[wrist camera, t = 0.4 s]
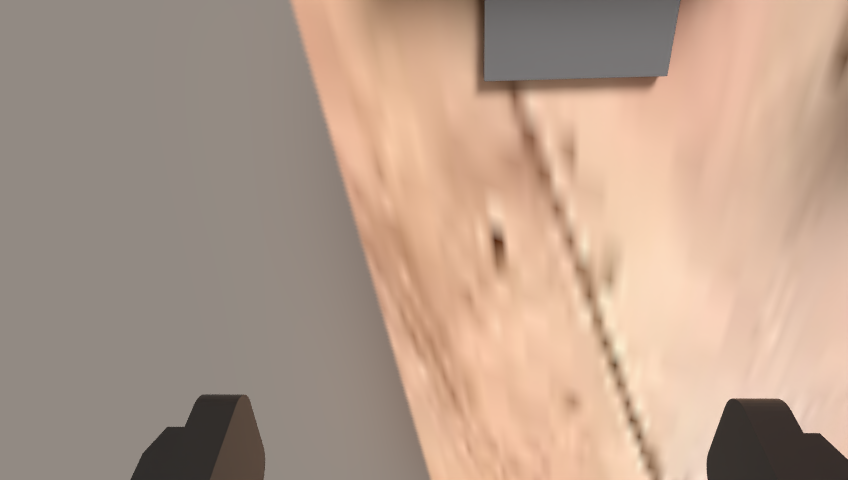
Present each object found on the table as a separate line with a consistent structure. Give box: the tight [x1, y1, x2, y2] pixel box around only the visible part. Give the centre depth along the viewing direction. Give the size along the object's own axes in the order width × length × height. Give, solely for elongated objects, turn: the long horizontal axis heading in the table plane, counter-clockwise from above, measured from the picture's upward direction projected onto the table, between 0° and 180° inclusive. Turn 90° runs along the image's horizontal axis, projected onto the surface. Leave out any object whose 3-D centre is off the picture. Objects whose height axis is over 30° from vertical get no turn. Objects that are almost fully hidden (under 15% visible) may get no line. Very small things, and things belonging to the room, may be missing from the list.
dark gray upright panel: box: [484, 0, 680, 81], centre depth 33 cm, size 7×10×1 cm
